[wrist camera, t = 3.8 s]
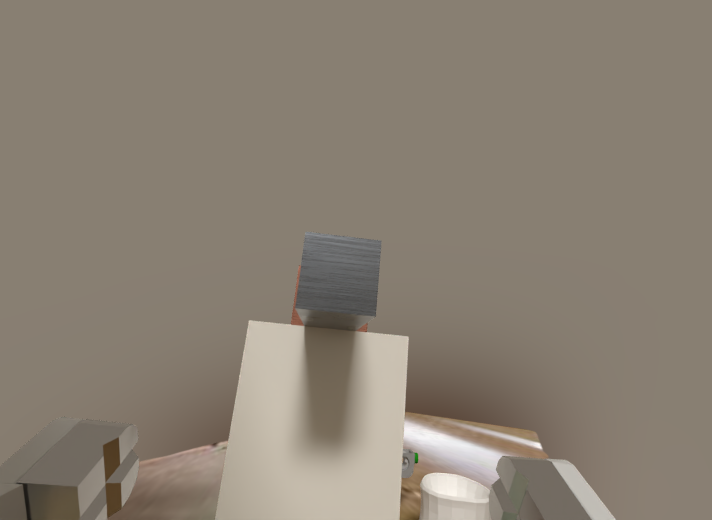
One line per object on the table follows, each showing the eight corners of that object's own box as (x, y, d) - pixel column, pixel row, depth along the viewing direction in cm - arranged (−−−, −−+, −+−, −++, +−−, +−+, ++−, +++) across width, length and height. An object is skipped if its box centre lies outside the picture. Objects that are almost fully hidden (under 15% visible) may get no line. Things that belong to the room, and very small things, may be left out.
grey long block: (264, 305, 14) (282, 193, 15) (294, 333, 31) (302, 279, 32) (405, 319, 14) (411, 209, 16) (359, 339, 31) (363, 285, 32)
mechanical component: (352, 511, 59) (357, 445, 62) (411, 514, 60) (414, 449, 63) (354, 519, 56) (360, 450, 59) (417, 522, 58) (419, 453, 60)
